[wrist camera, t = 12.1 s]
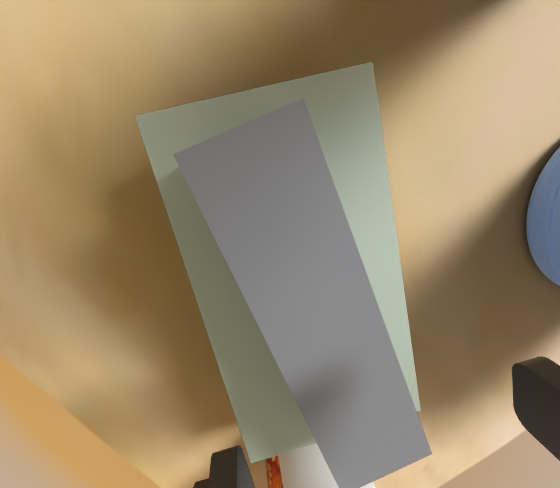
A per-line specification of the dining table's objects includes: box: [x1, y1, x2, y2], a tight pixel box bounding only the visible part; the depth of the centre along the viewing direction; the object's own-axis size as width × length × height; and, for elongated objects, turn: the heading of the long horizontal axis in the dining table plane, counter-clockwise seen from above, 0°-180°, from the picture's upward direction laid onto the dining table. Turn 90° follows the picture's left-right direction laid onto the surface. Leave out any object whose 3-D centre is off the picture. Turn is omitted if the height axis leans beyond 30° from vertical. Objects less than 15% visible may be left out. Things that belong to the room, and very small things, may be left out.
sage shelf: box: [135, 61, 421, 463], centre depth 22 cm, size 12×22×7 cm, turn 13°
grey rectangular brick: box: [173, 98, 432, 488], centre depth 16 cm, size 5×18×5 cm, turn 23°
